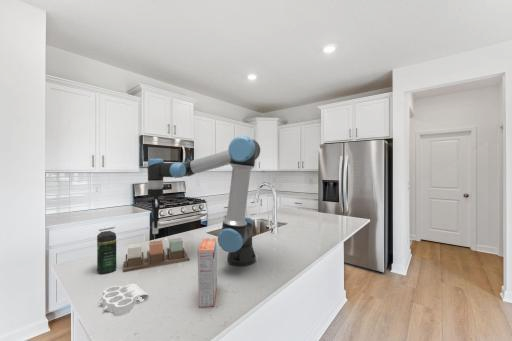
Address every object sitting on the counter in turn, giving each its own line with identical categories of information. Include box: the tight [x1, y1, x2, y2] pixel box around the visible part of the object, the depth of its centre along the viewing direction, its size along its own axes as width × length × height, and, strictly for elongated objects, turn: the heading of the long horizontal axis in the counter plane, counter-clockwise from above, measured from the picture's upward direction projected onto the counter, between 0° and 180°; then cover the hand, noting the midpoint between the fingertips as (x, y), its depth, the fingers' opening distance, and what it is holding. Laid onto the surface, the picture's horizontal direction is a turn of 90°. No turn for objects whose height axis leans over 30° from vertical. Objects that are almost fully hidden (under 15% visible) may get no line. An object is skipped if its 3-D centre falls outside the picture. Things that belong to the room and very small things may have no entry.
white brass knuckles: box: [97, 283, 149, 316], centre depth 90 cm, size 3×18×15 cm
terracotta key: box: [148, 240, 164, 255], centre depth 126 cm, size 6×6×6 cm
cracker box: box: [197, 238, 218, 308], centre depth 93 cm, size 14×6×21 cm, turn 5°
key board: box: [122, 247, 190, 273], centre depth 126 cm, size 10×31×6 cm, turn 117°
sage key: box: [168, 237, 184, 252], centre depth 130 cm, size 6×6×6 cm
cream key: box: [127, 242, 142, 260], centre depth 121 cm, size 6×6×6 cm
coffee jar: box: [96, 230, 117, 274], centre depth 117 cm, size 10×8×19 cm
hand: (155, 233), depth 125 cm, fingers closed
